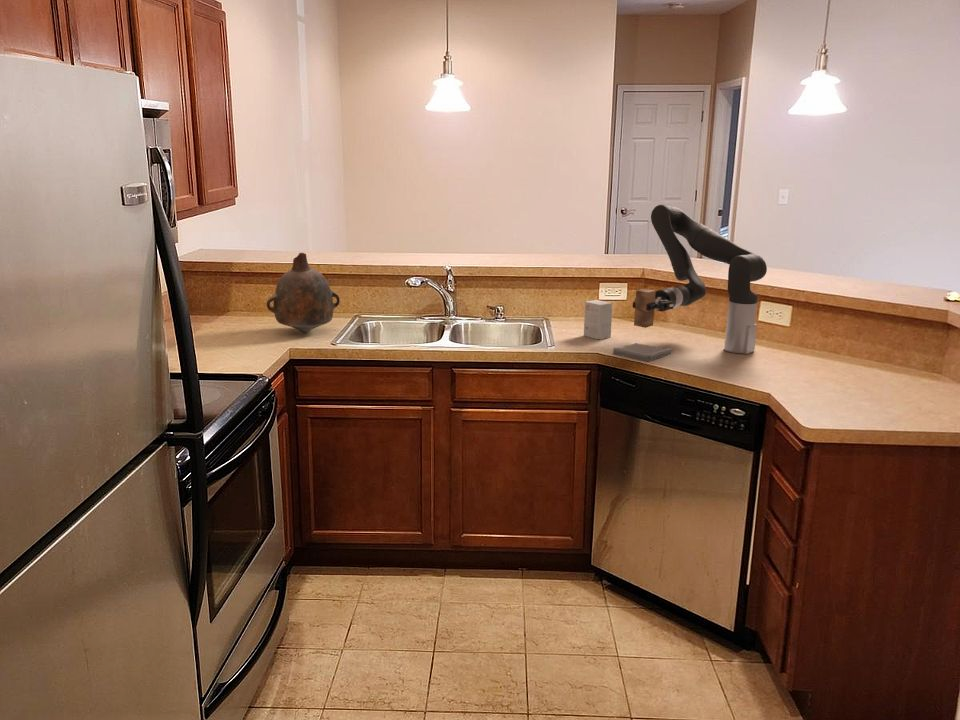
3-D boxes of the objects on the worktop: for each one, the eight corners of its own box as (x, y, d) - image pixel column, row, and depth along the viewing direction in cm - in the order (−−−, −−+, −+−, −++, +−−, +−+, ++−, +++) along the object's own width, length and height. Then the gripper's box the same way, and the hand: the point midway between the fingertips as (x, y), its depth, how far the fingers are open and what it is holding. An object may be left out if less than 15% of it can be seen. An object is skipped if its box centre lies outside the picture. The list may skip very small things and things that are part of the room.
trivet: (670, 353, 268) (671, 348, 267) (648, 361, 258) (649, 355, 257) (635, 346, 277) (636, 340, 277) (613, 353, 267) (613, 347, 267)
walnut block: (653, 325, 265) (655, 290, 262) (645, 327, 262) (648, 292, 259) (641, 323, 268) (643, 288, 265) (633, 325, 265) (636, 290, 262)
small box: (611, 337, 289) (613, 302, 286) (599, 340, 285) (601, 305, 282) (594, 333, 295) (596, 299, 292) (583, 335, 291) (584, 301, 288)
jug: (310, 322, 307) (307, 245, 299) (349, 330, 295) (346, 250, 287) (259, 334, 288) (254, 252, 280) (298, 343, 276) (293, 258, 268)
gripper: (650, 285, 277) (623, 292, 265) (686, 291, 267) (660, 298, 255) (648, 306, 279) (621, 313, 267) (684, 312, 269) (658, 320, 258)
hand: (640, 306), depth 261 cm, fingers closed on walnut block, 4 cm apart
